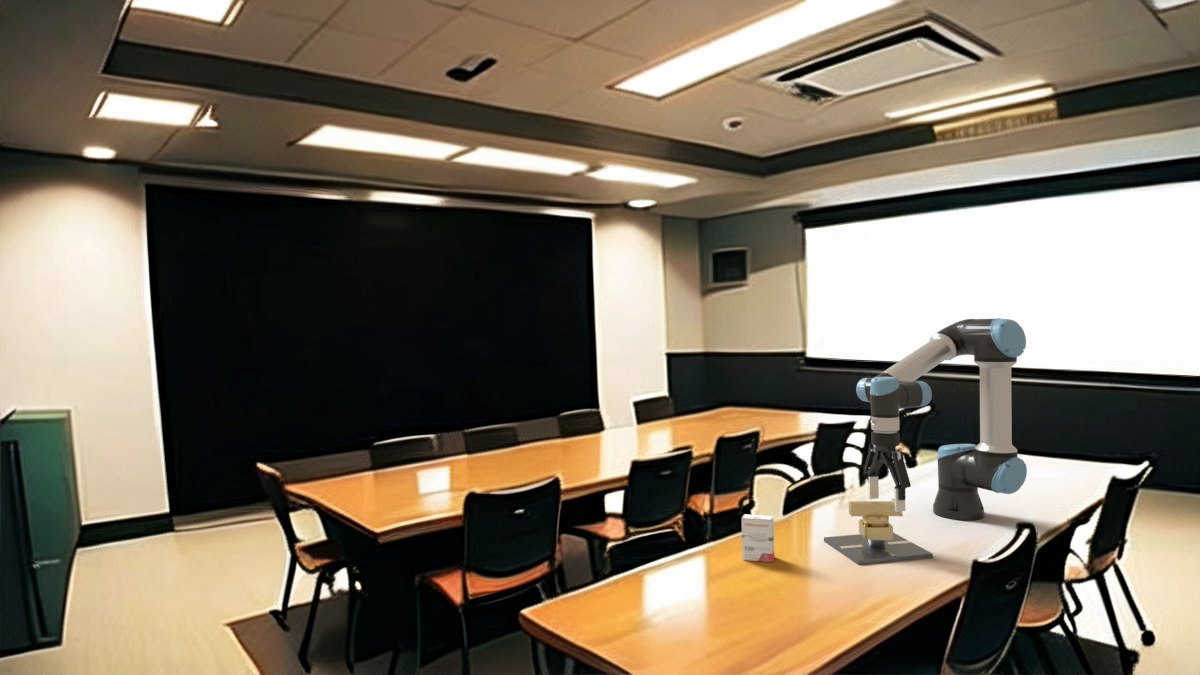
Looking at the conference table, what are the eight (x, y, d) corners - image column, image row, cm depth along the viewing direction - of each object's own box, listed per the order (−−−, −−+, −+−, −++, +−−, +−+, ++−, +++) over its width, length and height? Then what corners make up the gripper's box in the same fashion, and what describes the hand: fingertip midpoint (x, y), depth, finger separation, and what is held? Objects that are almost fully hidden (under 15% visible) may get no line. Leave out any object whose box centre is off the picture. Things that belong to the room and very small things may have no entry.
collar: (847, 531, 204) (846, 496, 204) (896, 531, 203) (895, 496, 202) (854, 539, 196) (853, 503, 196) (905, 539, 195) (905, 503, 195)
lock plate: (891, 535, 211) (891, 512, 211) (932, 557, 191) (932, 532, 191) (823, 541, 208) (823, 517, 208) (858, 564, 188) (857, 538, 188)
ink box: (775, 556, 196) (774, 514, 196) (773, 562, 192) (772, 520, 191) (744, 554, 199) (743, 513, 199) (741, 560, 194) (740, 518, 194)
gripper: (850, 425, 211) (852, 494, 211) (897, 439, 186) (899, 517, 187) (873, 423, 212) (875, 492, 212) (923, 437, 187) (925, 515, 188)
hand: (886, 504), depth 200 cm, fingers open, 13 cm apart
